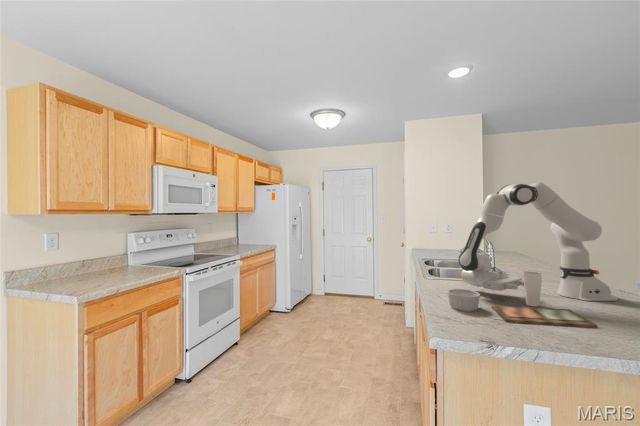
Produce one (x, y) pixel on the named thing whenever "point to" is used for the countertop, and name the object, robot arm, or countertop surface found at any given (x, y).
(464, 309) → the ramekin
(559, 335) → the countertop surface
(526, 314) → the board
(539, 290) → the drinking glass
